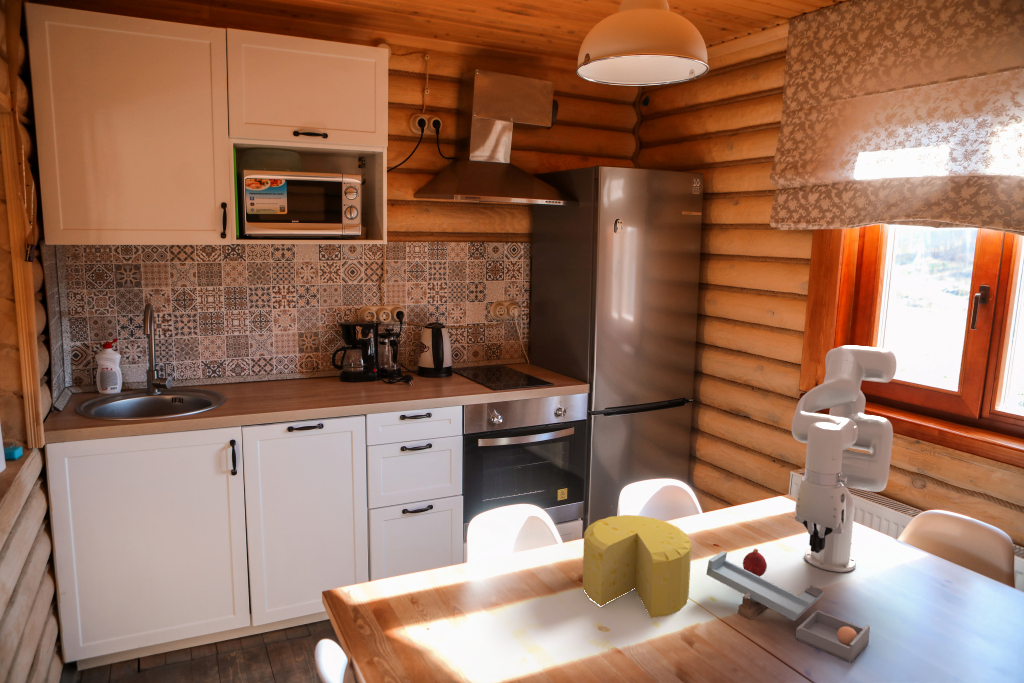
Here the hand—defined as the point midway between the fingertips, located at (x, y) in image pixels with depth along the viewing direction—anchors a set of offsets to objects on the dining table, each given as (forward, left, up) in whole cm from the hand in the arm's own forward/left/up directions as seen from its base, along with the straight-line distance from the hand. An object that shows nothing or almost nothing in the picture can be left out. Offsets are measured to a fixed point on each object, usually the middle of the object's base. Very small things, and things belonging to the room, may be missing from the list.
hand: (816, 550), depth 159 cm
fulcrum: (+11, -9, -15) cm, 20 cm away
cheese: (+24, -34, -15) cm, 44 cm away
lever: (+7, -9, -10) cm, 15 cm away
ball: (+11, +10, -11) cm, 18 cm away
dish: (+11, +9, -15) cm, 20 cm away
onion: (-3, -16, -15) cm, 22 cm away
